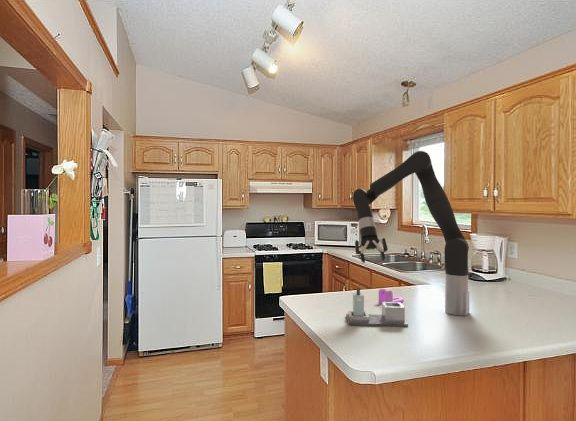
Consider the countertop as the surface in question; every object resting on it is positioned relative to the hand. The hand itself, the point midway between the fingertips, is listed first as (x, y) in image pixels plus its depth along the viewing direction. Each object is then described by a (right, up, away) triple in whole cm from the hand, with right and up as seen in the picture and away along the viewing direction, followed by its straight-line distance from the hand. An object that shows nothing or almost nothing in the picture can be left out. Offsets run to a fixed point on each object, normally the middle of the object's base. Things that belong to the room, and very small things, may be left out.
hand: (373, 261), depth 164 cm
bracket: (+13, -22, +15) cm, 30 cm away
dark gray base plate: (-3, -23, -15) cm, 27 cm away
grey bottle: (-10, -22, -14) cm, 28 cm away
